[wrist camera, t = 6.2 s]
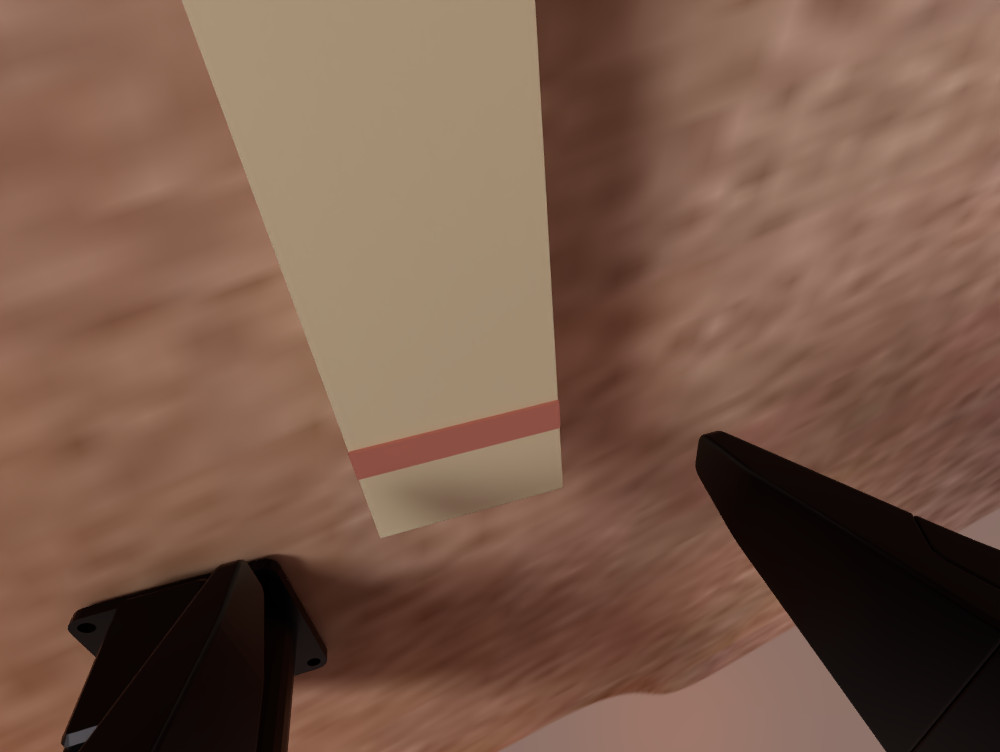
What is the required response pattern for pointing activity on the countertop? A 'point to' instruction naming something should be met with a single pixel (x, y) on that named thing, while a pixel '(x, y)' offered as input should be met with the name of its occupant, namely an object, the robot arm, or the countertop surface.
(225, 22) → the cream striped pillar
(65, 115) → the countertop surface
